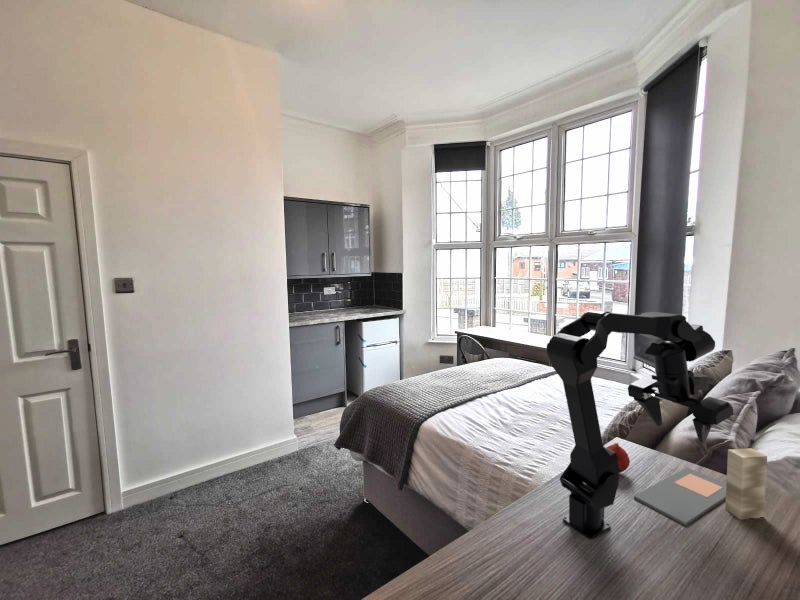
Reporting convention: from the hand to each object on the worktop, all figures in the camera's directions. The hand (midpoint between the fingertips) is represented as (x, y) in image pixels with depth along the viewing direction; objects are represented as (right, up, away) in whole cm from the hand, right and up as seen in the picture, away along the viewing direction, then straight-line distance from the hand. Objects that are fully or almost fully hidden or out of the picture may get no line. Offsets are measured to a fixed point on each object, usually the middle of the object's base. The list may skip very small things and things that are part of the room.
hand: (680, 433), depth 82 cm
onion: (-9, -13, +10) cm, 19 cm away
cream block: (+8, -14, -6) cm, 18 cm away
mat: (+2, -14, 0) cm, 14 cm away
